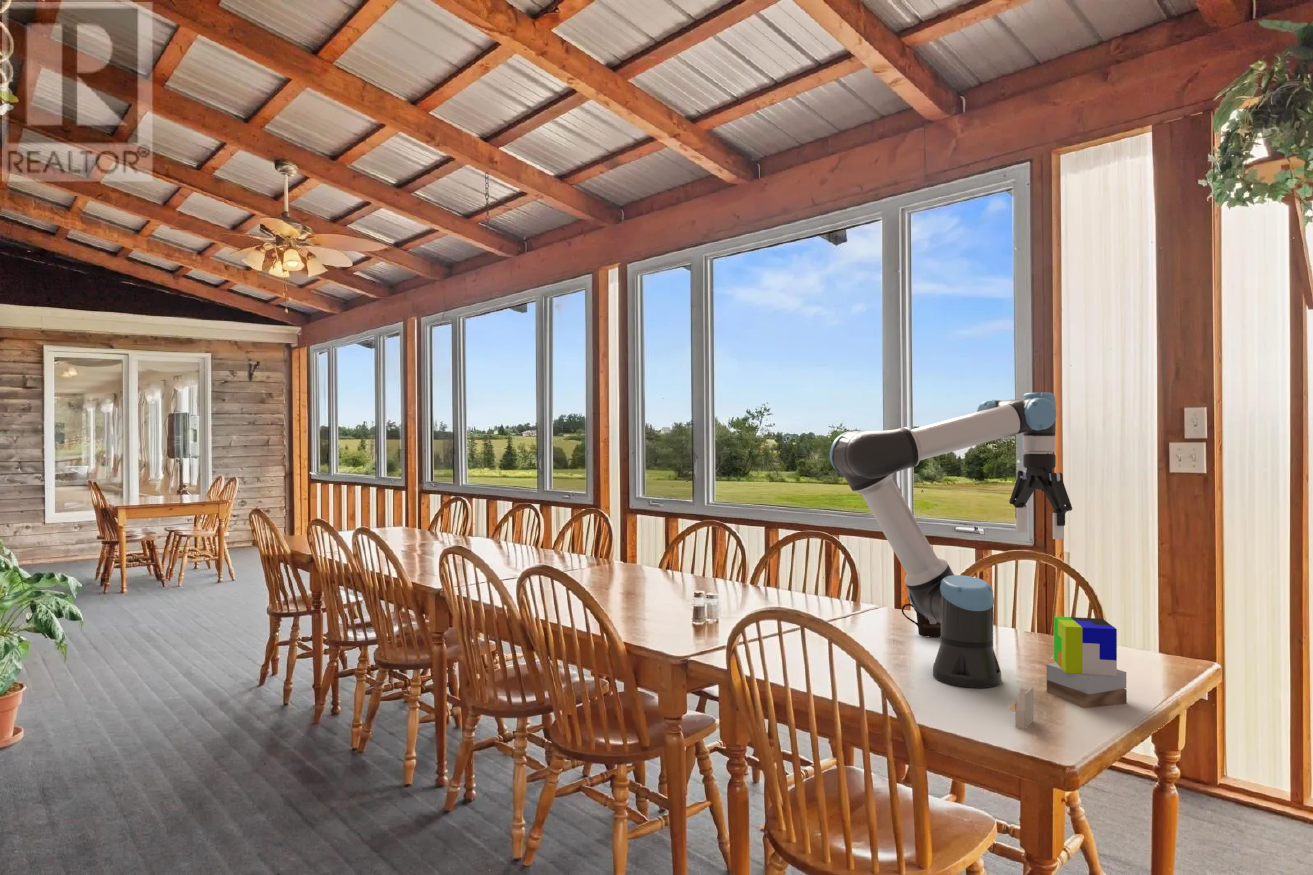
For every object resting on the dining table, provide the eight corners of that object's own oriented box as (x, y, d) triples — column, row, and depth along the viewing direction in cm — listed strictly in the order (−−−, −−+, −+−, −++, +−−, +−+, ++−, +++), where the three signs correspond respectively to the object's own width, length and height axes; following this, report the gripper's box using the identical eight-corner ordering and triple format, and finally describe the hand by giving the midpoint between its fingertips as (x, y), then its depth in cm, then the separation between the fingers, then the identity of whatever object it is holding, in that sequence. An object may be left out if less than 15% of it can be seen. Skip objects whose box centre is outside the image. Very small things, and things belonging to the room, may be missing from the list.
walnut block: (1083, 710, 172) (1083, 693, 172) (1046, 693, 183) (1046, 678, 183) (1126, 705, 175) (1126, 689, 175) (1087, 690, 185) (1087, 674, 185)
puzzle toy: (1116, 676, 173) (1116, 629, 173) (1065, 673, 175) (1065, 626, 175) (1102, 663, 182) (1102, 618, 182) (1054, 660, 185) (1054, 616, 185)
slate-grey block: (1088, 694, 172) (1088, 677, 172) (1046, 679, 182) (1046, 664, 182) (1126, 688, 176) (1126, 672, 176) (1082, 674, 186) (1083, 658, 186)
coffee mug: (949, 633, 235) (949, 599, 235) (942, 640, 228) (942, 604, 228) (908, 628, 242) (908, 594, 241) (900, 634, 234) (900, 599, 234)
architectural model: (1007, 727, 162) (1007, 690, 162) (1017, 718, 168) (1017, 682, 167) (1025, 731, 160) (1025, 694, 160) (1034, 721, 165) (1034, 685, 165)
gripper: (1088, 453, 197) (1088, 541, 197) (1019, 451, 221) (1019, 529, 222) (1061, 454, 195) (1061, 542, 196) (995, 451, 220) (995, 530, 220)
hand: (1039, 535), depth 209 cm, fingers open, 13 cm apart
